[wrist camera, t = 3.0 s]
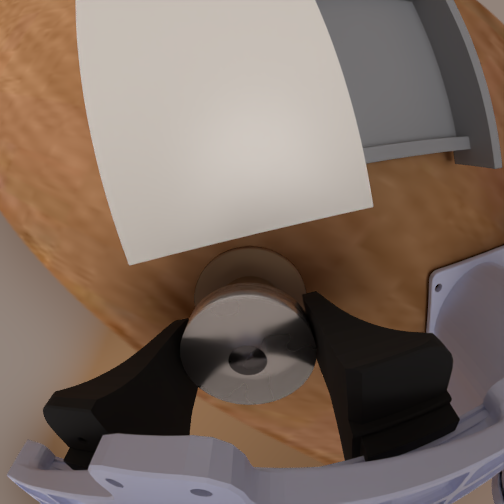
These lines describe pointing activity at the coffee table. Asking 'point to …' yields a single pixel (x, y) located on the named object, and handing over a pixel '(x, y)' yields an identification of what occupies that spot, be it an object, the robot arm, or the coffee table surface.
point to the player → (216, 119)
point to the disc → (248, 344)
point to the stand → (250, 272)
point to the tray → (413, 79)
